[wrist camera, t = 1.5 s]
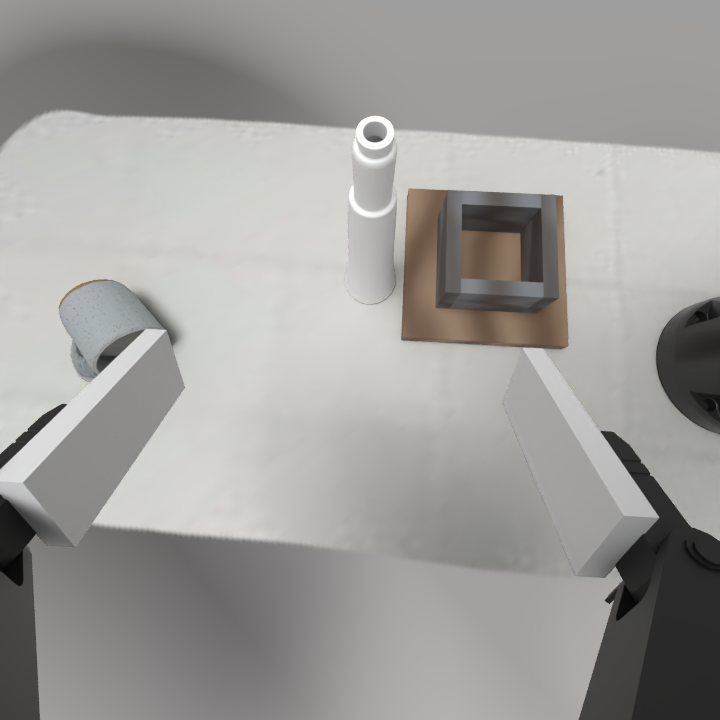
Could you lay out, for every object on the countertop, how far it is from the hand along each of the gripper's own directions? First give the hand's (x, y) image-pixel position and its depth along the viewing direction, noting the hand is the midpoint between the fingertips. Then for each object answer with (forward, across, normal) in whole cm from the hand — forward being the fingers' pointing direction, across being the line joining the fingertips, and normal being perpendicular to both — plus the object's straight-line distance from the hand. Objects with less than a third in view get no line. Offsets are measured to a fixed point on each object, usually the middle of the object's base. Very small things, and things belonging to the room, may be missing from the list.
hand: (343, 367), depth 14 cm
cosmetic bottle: (+29, +1, -9) cm, 30 cm away
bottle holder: (+30, +14, -7) cm, 34 cm away
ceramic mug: (+23, -26, -15) cm, 38 cm away
